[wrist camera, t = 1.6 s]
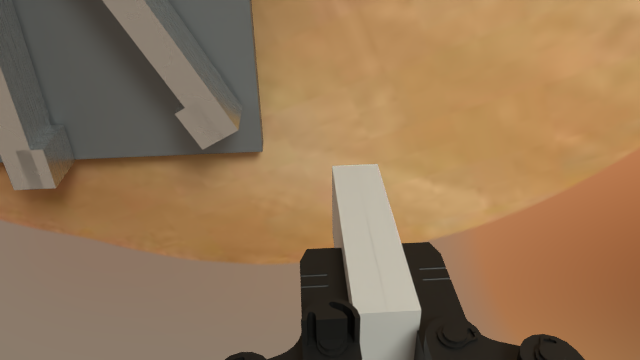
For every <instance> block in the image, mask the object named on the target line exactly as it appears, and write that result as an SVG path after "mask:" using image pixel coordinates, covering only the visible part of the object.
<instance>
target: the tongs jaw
mask: <svg viewBox="0 0 640 360" xmlns="http://www.w3.org/2000/svg"><path fill="white" fill-rule="evenodd" d="M102 1H103V2H104V3H105V5H106V6H107V7H108V8H109V10H110V11H111V12H112V14H113V15H114V16H115V18H116V19H117V20H118V21H119V23H120V24H121V25H122V27H123V28H124V29H125V31H126V32H127V33H128V34H129V36H130V37H131V38H132V40H133V41H134V42H135V44H136V45H137V46H138V47H139V49H140V50H141V51H142V53H143V54H144V55H145V57H146V58H147V59H148V61H149V62H150V63H151V64H152V66H153V67H154V68H155V70H156V71H157V72H158V74H159V75H160V76H161V77H162V79H163V80H164V81H165V83H166V84H167V85H168V87H169V88H170V89H171V90H172V92H173V93H174V94H175V96H176V97H177V98H178V100H179V101H180V103H179V105H178V107H177V110H176V112H175V115H176V116H177V118H178V119H179V120H180V122H181V123H182V124H183V125H184V127H185V128H186V129H187V130H188V132H189V133H190V134H191V136H192V137H193V138H194V139H195V141H196V142H197V143H198V144H199V146H200V147H201V148H202V150H203V149H205V148H207V147H209V146H210V145H212V144H214V143H216V142H218V141H220V140H221V139H223V138H225V137H227V136H229V135H231V134H232V133H234V132H236V131H238V129H239V123H240V117H241V112H242V106H241V104H240V103H239V101H238V100H237V98H236V97H235V96H234V94H233V93H232V91H231V90H230V88H229V87H228V86H227V84H226V83H225V81H224V80H223V78H222V77H221V76H220V74H219V73H218V71H217V70H216V68H215V67H214V65H213V64H212V63H211V61H210V60H209V58H208V57H207V55H206V54H205V53H204V51H203V50H202V48H201V47H200V45H199V44H198V43H197V41H196V40H195V38H194V37H193V35H192V34H191V33H190V31H189V30H188V28H187V27H186V25H185V24H184V23H183V21H182V20H181V18H180V17H179V15H178V14H177V13H176V11H175V10H174V8H173V7H172V5H171V4H170V3H169V1H168V0H102Z"/></svg>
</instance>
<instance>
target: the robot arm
mask: <svg viewBox="0 0 640 360" xmlns="http://www.w3.org/2000/svg"><path fill="white" fill-rule="evenodd" d="M332 211H333V239H334V247H335V248H322V249H307V250H306V252H305V253H304V255H303V257H302V259H301V261H300V274H301V275H300V276H301V307H302V319H301V328H302V333H301V336H300V339H299V340H298V342H297V343H296V344H295V345H294V347H292V348H291V349H290V350H288V351H287V352H285V353H283V354H281V355H278V356H276V357H273V358H270V359H265V358H264V357H263V356H262V355H259V354H256V353H253V352H241V353H238V354H234V355H231V356H229V357H228V358H226V359H225V360H585V359H584V358H583V357H582V356H581V355H580V354H579V353H578V352H577V350H575V349H574V348H573V347H572V346H571V345H569V344H568V343H567V342H565V341H563V340H561V339H559V338H557V337H554V336H549V335H545V334H540V335H532V336H530V337H528V338H526V339H524V341H523V342H522V344H521V346H517V345H512V344H507V343H503V342H498V341H495V340H491V339H489V338H487V337H485V336H483V335H481V333H480V332H479V330H478V329H477V328H476V327H475V326H474V325H472V324H471V323H470V322H468V321H467V319H466V317H465V315H464V312H463V310H462V307H461V305H460V302H459V300H458V297H457V294H456V292H455V289H454V287H453V284H452V282H451V280H450V277H449V274H448V272H447V269H446V267H445V264H444V261H443V259H442V256H441V254H440V253H439V252H438V251H437V250H436V249H435V248H434V247H433V246H432V245H431V244H430V243H429V242H423V243H402V244H401V241H400V237H399V234H398V231H397V227H396V224H395V221H394V217H393V214H392V211H391V207H390V204H389V201H388V197H387V194H386V191H385V187H384V184H383V181H382V177H381V174H380V171H379V167H378V164H365V165H341V166H332Z"/></svg>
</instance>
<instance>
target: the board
mask: <svg viewBox="0 0 640 360" xmlns="http://www.w3.org/2000/svg"><path fill="white" fill-rule="evenodd" d="M168 1H169V3H170V4H171V5H172V7H173V8H174V10H175V11H176V13H177V14H178V15H179V17H180V18H181V20H182V21H183V23H184V24H185V25H186V27H187V28H188V30H189V31H190V33H191V34H192V35H193V37H194V38H195V40H196V41H197V43H198V44H199V45H200V47H201V48H202V50H203V51H204V53H205V54H206V55H207V57H208V58H209V60H210V61H211V63H212V64H213V65H214V67H215V68H216V70H217V71H218V73H219V74H220V76H221V77H222V78H223V80H224V81H225V83H226V84H227V86H228V87H229V88H230V90H231V91H232V93H233V94H234V96H235V97H236V98H237V100H238V101H239V103H240V104H241V106H242V112H241V117H240V123H239V129H238V131H236V132H234V133H232V134H231V135H229V136H227V137H225V138H223V139H221V140H220V141H218V142H216V143H214V144H212V145H210V146H209V147H207V148H205V149H203V150H202V148H201V147H200V146H199V144H198V143H197V142H196V141H195V139H194V138H193V137H192V136H191V134H190V133H189V132H188V130H187V129H186V128H185V127H184V125H183V124H182V123H181V122H180V120H179V119H178V118H177V116H176V115H175V112H176V110H177V107H178V105H179V103H180V101H179V100H178V98H177V97H176V96H175V94H174V93H173V92H172V90H171V89H170V88H169V87H168V85H167V84H166V83H165V81H164V80H163V79H162V77H161V76H160V75H159V74H158V72H157V71H156V70H155V68H154V67H153V66H152V64H151V63H150V62H149V61H148V59H147V58H146V57H145V55H144V54H143V53H142V51H141V50H140V49H139V47H138V46H137V45H136V44H135V42H134V41H133V40H132V38H131V37H130V36H129V34H128V33H127V32H126V31H125V29H124V28H123V27H122V25H121V24H120V23H119V21H118V20H117V19H116V18H115V16H114V15H113V14H112V12H111V11H110V10H109V8H108V7H107V6H106V5H105V3H104V2H103V1H102V0H12V2H13V5H14V8H15V12H16V15H17V18H18V21H19V24H20V27H21V30H22V33H23V36H24V39H25V43H26V46H27V49H28V52H29V55H30V58H31V61H32V64H33V67H34V70H35V74H36V77H37V80H38V83H39V86H40V89H41V92H42V95H43V98H44V101H45V104H46V108H47V111H48V114H49V117H50V120H51V123H52V125H64V127H65V130H66V134H67V137H68V140H69V143H70V147H71V150H72V153H73V156H74V159H95V158H119V157H142V156H166V155H190V154H214V153H238V152H262V151H263V133H262V121H261V109H260V98H259V86H258V74H257V62H256V51H255V39H254V27H253V15H252V4H251V0H168ZM0 162H3V161H2V158H1V156H0Z"/></svg>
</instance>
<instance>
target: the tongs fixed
mask: <svg viewBox="0 0 640 360" xmlns="http://www.w3.org/2000/svg"><path fill="white" fill-rule="evenodd" d="M0 156H1V158H2V161H3V163H4V166H5V168H6V171H7V173H8V176H9V178H10V181H11V184H12V186H13V189H14V190H28V189H50V188H57V186H58V185H59V183H60V182H61V180H62V179H63V177H64V176H65V175H66V173H67V172H68V170H69V169H70V167H71V166H72V164H73V163H74V162H75V159H74V156H73V153H72V150H71V147H70V143H69V140H68V137H67V134H66V130H65V127H64V125H52V123H51V120H50V117H49V114H48V111H47V108H46V104H45V101H44V98H43V95H42V92H41V89H40V86H39V83H38V80H37V77H36V74H35V70H34V67H33V64H32V61H31V58H30V55H29V52H28V49H27V46H26V43H25V39H24V36H23V33H22V30H21V27H20V24H19V21H18V18H17V15H16V12H15V8H14V5H13V2H12V0H0Z"/></svg>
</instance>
